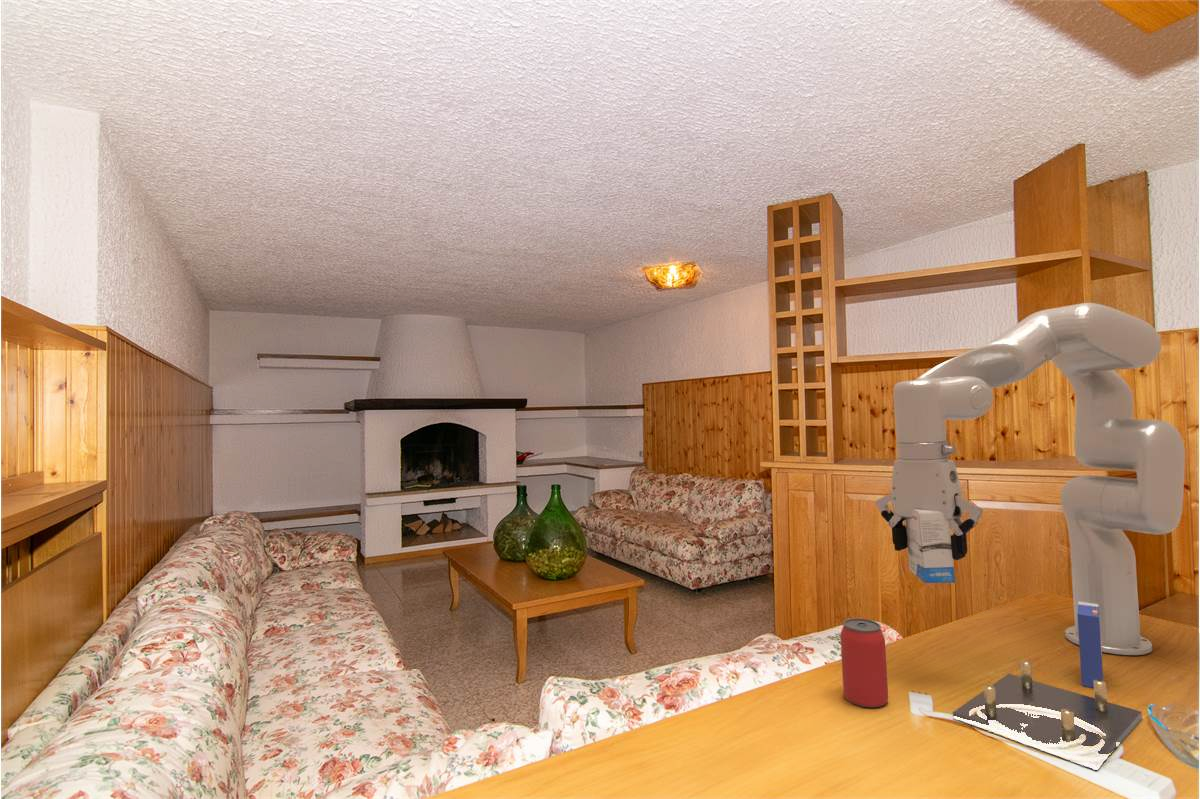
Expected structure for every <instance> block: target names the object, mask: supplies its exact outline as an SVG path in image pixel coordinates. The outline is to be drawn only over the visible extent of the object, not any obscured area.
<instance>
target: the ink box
mask: <svg viewBox="0 0 1200 799" xmlns="http://www.w3.org/2000/svg"><path fill="white" fill-rule="evenodd" d="M904 522H905V527H906V534H907V546H908V547H907V555H908V569H909V571H910V572H912V573H913V575H915V577H917V578H919V579H920V580H921V581H922V582H923V583H925V584H953V583H954V584H955V583H956V576H955V565H954V559H953V557H952V546H951V535H952V534H951V529H950V523H949V521H947V520H945V519H944V515H943V513H941V512H939V511H930V510H921V509H913V510H912V518H911V519H910V518H906V520H905V521H904Z"/></svg>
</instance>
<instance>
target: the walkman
mask: <svg viewBox="0 0 1200 799" xmlns="http://www.w3.org/2000/svg"><path fill="white" fill-rule="evenodd" d="M1077 615H1078V631H1079V645H1078V646H1079V647H1078V648H1079V660H1080V677H1081V679H1080V680H1081V686H1082V687H1086V688H1087V687H1088V688H1092V689H1094V680H1102V681H1104V674H1103V673H1104V671H1103V670H1104V669H1103V659H1102V658H1103V652H1102V649H1101V637H1100V621H1099V619H1100V618H1099V607H1098V604H1093V603H1088V602H1080V601H1079V602H1078V613H1077Z"/></svg>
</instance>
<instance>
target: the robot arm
mask: <svg viewBox="0 0 1200 799" xmlns="http://www.w3.org/2000/svg"><path fill="white" fill-rule="evenodd" d="M1161 350H1162V341H1161V337H1160V334H1159V333H1158V331H1157V329H1155V328H1154V327H1153V326H1152V325H1151V324H1150V323H1149V322H1148V321H1145V320H1143V319H1141V318H1139V317H1136V316H1133V315H1132V314H1129V313H1126V312H1124V311H1121V310H1120V309H1116V308H1114V307H1111V306H1108V305H1104V304H1102V303H1101V304H1100V303H1095V302H1081V303H1077V304H1071V305H1063V306H1060V307H1054V308H1049V309H1048V308H1047V309H1043V310H1039V311H1036V312H1033V313H1032V314H1030V315H1028V316H1026V317H1025V318H1023V319H1021V321H1019V322H1017V323H1016V324H1015V325H1013V326H1012V327H1010V328H1009V329H1007V330H1006V331H1005V332H1003V333H1002V334H1000V335H998V336H997V337H995V338H994V339H993V340H991V341H990V342H987V343H985V344H983V345H980V346H978V347H976V348H973V349H971V350H968V351H966V352H964V353H962V354H959V355H958V356H957V355H956V356H955V357H952V358H950V359H948V360H946V361H944V362H941V363H940V364H937V365H936V366H934V367H932V368H930V369H929V370H927V371H926V372H924V373H923V374H921V375H920V376H918V377H917V378H916V379H915V380H914V379H913V380H912V379H911V380H903V381H899V382H897V383H895V385H894V386H893V391H892V393H893V394H892V395H893V408H894V409H893V410H894V422H895V423H894V424H895V437H896V451H897V459H896V460H894V462H893V468H892V476H891V492H890V493H889V494H887V495H885V496H883V497H880V498H879V499H876V500H875V505H876V507H877V509H878V510H879V512H880V515H881V517H882V518H883V519H884V520H885V521H886V522H887V523H888V524H887V525H888V526H889V527H890V528H891V536H892V537H891V538H892V544H893V546H894V551H897V552H899V551H903V550H906V549H908V546H907V534H906V524H904V522H906V521H905V520H906V518H910V519H911V518H912V510H913V509H921V510H930V511H939V512H941V513H943V515H944V519H945V520H947V521H949V523H950V531H952V532H953V534H951V546H952V557H953V561H954V560H955V561H959V560H960V559H964V558H965V557H966V555H967V553H968V541H967V533H969V532H970V531H971V530H972V529H973V528H974V527H976V525H977V524H978V521H979V520H980V518H981V517H982V515H983V513H984V509H983V508H981V507H980V506H978V505H976V504H974V503H972V502H970V501H969V500H967V499H965V497H963V493H962V487H961V482H960V479H959V474H958V471H957V467H956V464H955V462H954V460H953V459H948V458H949V457H950V455H955V454H956V452H957V449H956V446H955V445H950V444H949V441H947V428H946V421H969V420H974V419H975V420H976V419H978V418H981V417H982V416H984V415H986V413H988V411H989V410H990V409H991V408H992V405H993V403H994V392H993V389H995V388H1000V387H1004V386H1007V385H1008V386H1009V385H1011V384H1013V383H1017V382H1020V381H1022V380H1024V379H1026V378H1027V377H1028V376H1030V375H1031V374H1033V373H1034V372H1035V371H1037V370H1038V369H1039V368H1041V367H1042V366H1044V365H1045V364H1046V363H1047V362H1049V361H1051V362H1052V364H1054V366H1055V367H1056V368H1057V369H1058V370H1059V371H1060V372H1061V373H1062V375H1064V376H1065V377H1066V379H1067V380H1068V382H1069V383H1070V385H1071V386H1072V389H1073V391H1074V394H1075V400H1076V402H1075V408H1076V409H1075V422H1074V434H1073V435H1074V436H1073V440H1074V441H1073V450H1074V456H1075V458H1076V460H1077V461H1078V462H1079V463H1080V464H1081V465H1083V466H1086V467H1089V468H1094V469H1100V470H1101V469H1102V470H1113V471H1126V472H1129V471H1131V472H1136V478H1128V477H1120V476H1119V477H1118V476H1107V475H1080V476H1075V477H1072V478H1071V479H1069V480H1067V481H1066V482H1065V484H1064V485H1063V486H1062V488H1061V490H1060V505H1061V509H1062V513H1063V515H1064V518H1065V522H1066V526H1067V531H1068V537H1069V538H1068V539H1069V546H1070V547H1069V549H1070V563H1071V564H1070V568H1071V583H1072V597H1073V598H1072V599H1073V600H1072V601H1073V616H1074V617H1073V618H1074V625H1073V626H1069V627H1067V628H1066V629H1065V633H1064V634H1065V638H1067V640H1068V641H1069V642H1071V643H1074V644H1076V645H1077V646H1079V631H1078V615H1077V613H1078V602H1079V601H1080V602H1088V603H1093V604H1098V607H1099V618H1100V619H1099V621H1100V637H1101V649H1102V653H1105V654H1113V655H1119V656H1120V655H1122V656H1143V655H1147V654H1150V653H1151V652H1152V651H1153V643H1152V641H1150V640H1149V639H1148V638H1146V637H1145V636H1141V626H1140V625H1141V624H1140V610H1139V595H1138V593H1139V592H1138V581H1137V580H1138V579H1137V577H1138V576H1137V560H1136V559H1137V558H1136V554H1135V553H1136V552H1135V550H1134V547H1133V544H1132V543H1131V541H1130V539H1129V537H1128V536H1127V535H1126V533H1125V532H1124V531H1126V532H1127V531H1129V532H1134V533H1141V534H1142V533H1143V534H1149V535H1166V534H1169V533H1172V532H1173V531H1174V530H1176V528H1177V527H1178V525H1180V522H1181V518H1182V514H1183V505H1184V486H1185V485H1184V484H1185V466H1186V449H1185V443H1184V440H1183V439H1184V438H1183V437H1182V435H1181V433H1180V432H1179V430H1178V429H1177V427H1175V426H1174V425H1172V424H1171V423H1169V422H1167V421H1166V420H1165V421H1164V420H1159V419H1152V418H1151V419H1148V418H1147V419H1145V418H1144V419H1135V418H1134V394H1133V391H1132V389H1131V387H1130V386H1129V384H1128V383H1127V381H1126V380H1125V379H1124V378H1123V377H1121V375H1120V374H1119V373H1118V372H1116V371H1118V370H1131V369H1141V368H1143V367H1147V366H1148V365H1151V364H1153V362H1155V361H1156V360H1157V359H1158V357H1159V355H1160V353H1161ZM890 503H891V506H892V509H890V507H889V504H890ZM964 512H967V513H968V516H967V518H966V520H964V521H963V519H962V517H963V516H964Z"/></svg>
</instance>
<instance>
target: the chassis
mask: <svg viewBox="0 0 1200 799" xmlns="http://www.w3.org/2000/svg"><path fill="white" fill-rule="evenodd" d="M1020 675H1021V676H1018V675H1015V674H1011V673H1008V674H1006V675H1005V676H1003V677H1001V679H999V680H997V681H996V682H994V683H993V684H991V685H990V684H984V685H983V690H982V691H981V692H980V693H979V694H977V695H976V696H974V697H973V698H971V699H970V700H968V701H967V702H966V703H963V705H961V706H959V707H958V708H957V709H955V710H954V711H953V712H952V717H953V716H957V717H960V718H963V719H967V720H972V721H976V722H979V723H981V724H986V725H989V723H988V720H996V721H998V722H999V723H1001V724H1002V725H1005V727H1008V728H1009V729H1011V730H1013V729H1014V731H1015V730H1017V732H1018V733H1019V732H1020V733H1021V731H1022V732H1025V733H1026V735H1027V736H1028V737H1031V738H1032V740H1036V741H1041V742H1042V743H1046V744H1047V743H1048V744H1049V742H1050V743H1053V744H1054V743H1056V744H1057V743H1058V742H1060V740H1061V739H1060V737H1062V740H1063V741H1066V742H1070V741H1074V740H1076V739H1078V738H1079V736H1080V735H1081V734H1085V735H1086V740H1085V741H1084V742H1083V743H1082V744H1081V745H1083V746H1094V745H1096V744H1098V743H1099V742H1100V740H1101V739H1103V740H1104V741H1105V744H1104V746H1103V747H1102V748H1101V750H1100V751H1098V753H1099V754H1109V753H1111V752H1112V751H1114V750H1115V748H1116V742H1120V743H1121V744H1122V743H1123V741H1125V739H1126V738H1127V737H1128V736H1129V735H1130V733H1131V732H1132V731H1133V730H1134V729H1135V728H1136V726H1137V725H1138V724H1139V723H1140V722H1141V721H1142V720H1143V714H1142V713H1143V712H1142V710H1141V711H1140V710H1137V709H1133V708H1130V707H1126V706H1123V705H1120V704H1115V703H1113V702H1109V701H1108V697H1107V694H1108V693H1107V683H1106V681H1105V680H1103V681H1102V680H1094V688H1093V693H1094V697H1091V696H1089V695H1084V694H1081V693H1078V692H1074V691H1070V690H1067V689H1064V688H1060V687H1056V686H1054V685H1050V684H1046V683H1043V682H1040V681H1035V680H1033V671H1032V662H1031V661H1029V660H1026V659H1022V660H1020ZM999 704H1024V705H1031V706H1035V707H1042V708H1047V709H1051V710H1055V711H1059V712H1061V720H1060V719H1056V718H1050V717H1047V716H1044V715H1043V716H1042V715H1037V716H1040V717H1039V718H1033V717H1031V714H1029V716H1028V712H1027V715H1025V713H1023V712H1019V711H1016V710H1014V709H1011V708H1007V707H1006V708H1002V707H1001V708H996V705H999ZM983 705H985V709H981V710H980V711H981V712H982V713H984V714H985V715H986V716H987V720H985V719H983V718H981V717H979V716H978V715H977V714H974V715H971V716H969V711H970V710H971V709H973V708H976V707H979V706H983ZM1032 716H1033V714H1032ZM1034 716H1036V715H1034ZM1074 717H1077V718H1079V719H1081V720H1083V721H1085V722H1087V723H1089V724H1091V725H1094V726H1095V727H1097V728H1099V729H1100V730H1101V731H1102V732H1103V733H1105V734H1106V736H1104V737H1103V736H1102V737H1101V736H1100V735H1099V734H1096V733H1093V732H1089V731H1086V730H1085V729H1083V728H1081V727H1079V726H1077V725H1075V724H1074ZM1020 723H1021V724H1022V723H1024V724H1028V726H1026V727H1025V728H1024V727H1023V726H1021V725H1020ZM1022 727H1023V730H1022V729H1021V728H1022ZM1050 740H1051V741H1050ZM1058 744H1059V743H1058ZM1116 749H1117V748H1116ZM1115 751H1116V750H1115ZM1115 751H1114V752H1115Z"/></svg>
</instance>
